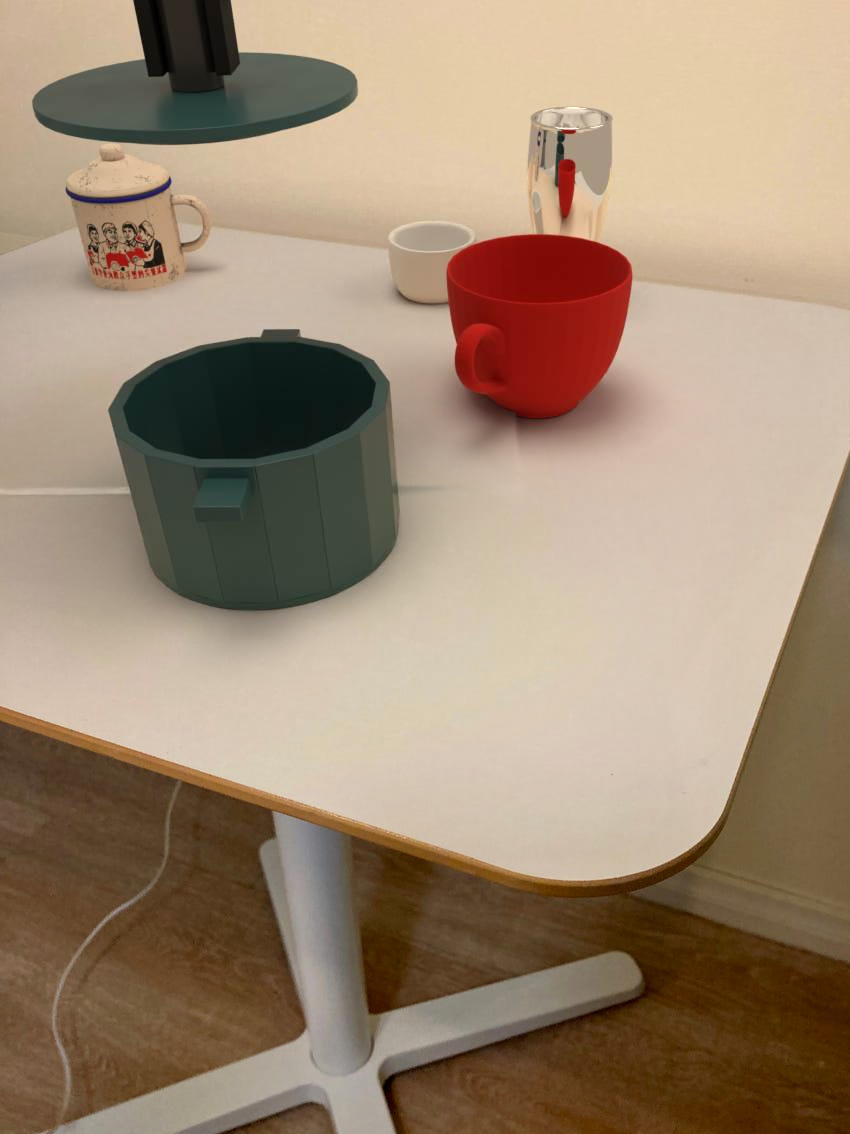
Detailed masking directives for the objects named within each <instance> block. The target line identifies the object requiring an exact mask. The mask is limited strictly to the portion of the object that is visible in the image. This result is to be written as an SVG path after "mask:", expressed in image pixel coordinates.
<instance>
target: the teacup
mask: <svg viewBox="0 0 850 1134" xmlns="http://www.w3.org/2000/svg"><path fill="white" fill-rule="evenodd" d="M387 237H388V238H387V252H388V253H387V254H388V260H389V266H390V273H391V275H392V280H393V282H394V284H395V286H396V288H397V290H398V291H399V292H400V293H401V295H402V296H403V297H405V298H406V299H407V300H410V301H411V302H415V303H420V304H431V305H432V304H433V305H434V304H435V305H436V304H445V303H449V301H448V292H447V279H446V271H447V266H448V263H449V261H450V260H451V259H452V257H453V256H454V255H456V254H457V253H458V252H459V251H461V250H463V249H465V248H467V247H469V246H471V245H474V244H477V243H478V242H477V235H476V234H475V231H474V230H473V229H472V228H470V227H468V226H467V225H464V224H461V223H458V222H452V221H446V220H421V221H414V222H409V223H405V224H402V225H400V226H398V227H396V228H393V230H391V231H390V232H389V234H388V236H387Z"/></svg>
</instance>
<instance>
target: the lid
mask: <svg viewBox="0 0 850 1134" xmlns="http://www.w3.org/2000/svg"><path fill="white" fill-rule="evenodd" d="M154 2H155V7H156V12H157V17H158V23H159V28H160V33H161V39H162V44H163V49H164V54H165V60H166V65H167V70H168V72H167V73H166V74H165V75H164V76H163V77H148V72H147V67H146V62H145V58H142V59H134V60H128V61H123V62H118V63H113V64H108V65H103V66H98V67H95V68H91V69H86V70H84V71H80V72H77V73H74V74H70V75H68V76H65V77H62V78H60V79H58V80H55V81H53V82H51V83H48V84H47V85H45V86H44V87H43V88H41V89H39V91H37V92H36V93H35V94H34V96H33V98H32V100H31V106H32V111H33V114H34V117H35V118H36V120H37V121H38V123H39V124H41V125H42V126H43V127H45V128H46V129H49V130H51V131H52V132H56V133H58V134H62V135H65V136H69V137H74V138H77V139H78V138H79V139H84V140H89V141H91V140H92V141H97V142H107V143H117V144H120V143H121V144H134V145H135V144H136V145H149V146H151V145H152V146H184V145H185V146H186V145H187V146H188V145H204V144H216V143H225V142H233V141H239V140H246V139H252V138H256V137H257V138H258V137H261V136H267V135H271V134H275V133H278V132H281V131H286V130H290V129H294V128H298V127H303V126H305V125H308V124H313V123H315V122H318V121H321V120H324V119H326V118H328V117H331V116H333V115H335V114H338V113H340V112H341V111H343V110H346V109H347V108H348V107H350V105H352V104H353V103H354V102H355V100H356V99H357V98H358V94H359V85H358V78H357V77H356V74H355V73H354V72H353V71H351V70H350V69H348V68H347V67H345V66H344V65H340V64H338V63H335V62H332V61H328V60H325V59H321V58H314V57H310V56H304V55H303V56H302V55H295V54H285V53H273V52H250V51H249V52H248V51H247V52H240V51H238V52H239V58H240V64H239V66H238V67H237V68H236V70H235V71H234V72H233V73H232V75H222V76H216V70H215V63H214V57H213V51H212V45H211V39H210V33H209V27H208V21H207V15H206V9H205V2H204V0H154Z"/></svg>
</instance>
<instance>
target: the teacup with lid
mask: <svg viewBox="0 0 850 1134" xmlns="http://www.w3.org/2000/svg"><path fill="white" fill-rule="evenodd" d="M98 151H99V157H97V158H95V159H93V160H92V161H90V162H89V163H88V164H87V165H86V166H85V167H83V168H80V169H78V170H75V172H73V173H72V174H70V175H69V176H68V178H67V179H66V182H65V193H66V195H67V196H68V197H69V198H70V201H71V206H72V209H73V213H74V218H75V221H76V225H77V229H78V233H79V236H80V241H81V245H82V248H83V251H84V257H85V259H86V264H87V267H88V271H89V276H90V278H91V281H92V283H93V284H94V285H95V286H97V287H99V288H101V289H103V290H109V291H115V292H116V291H117V292H135V291H143V290H151V289H155V288H159V287H162V286H165V285H168V284H171V283H173V282H175V281H177V280H178V279H180V278H181V277H182V276H184V274H185V273H186V271H187V266H186V261H185V256H184V253H185V254H186V253H192V252H195V251H197V250H200V249H201V248H202V247H203V246H204V245H205V244H206V242H207V241H208V240H209V236H210V234H211V229H212V217H211V213H210V210H209V208H208V206H207V205H206V204H205V203H204V202H203V200H201V199H199V198H198V197H196V196H194V195H190V194H183V193H182V194H172V189H171V185H172V178H171V176H170V174H169V172H168V171H167V169H166V168H165V167H163V166H162V165H160V164H157V163H153V162H150V161H144V160H141V159H140V158H138V157H136V156H133V155H130V154H125V151H124V148H123V146H122V145H121V144H120V143H116V142H110V143H105V144H102V145H101V146H100V147H99V150H98ZM180 205H181V206H184V205H185V206H189V207H192V208H194V209H195V210H196V211H197V212H198V213H199V215H200V216H201V219H202V230H201V233H200V235H199V236H198V237H197V238H196V239H194V240H191V241H186V242H182V240H181V236H180V231H179V227H178V226H179V225H178V220H177V215H176V209H175V206H180Z"/></svg>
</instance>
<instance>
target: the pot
mask: <svg viewBox="0 0 850 1134" xmlns="http://www.w3.org/2000/svg"><path fill="white" fill-rule="evenodd" d="M301 335H302V334H301V330H300V328H288V329H287V328H267V329H266V328H265V329H263V330H262V332H261V335H260V336H247V337H241V338H235V339H229V340H224V341H217V342H212V343H205V344H201V345H200V344H199V345H197V346H193V347H191V348H188V349H185V350H183V351H180V352H178V353H174V354H172V355H169V356H166V357H163V358H160V359H157V360H156V361H153V362H152V363H150V364H149V365H148V366H146V367H145V368H144V369H142V370H141V371H139V372H138V373H136V374H135V375H133V376H132V377H130V378H129V379H127V380H125V382H123V384H122V385H121V387H120V388H119V389H118V392H117V393H116V395H115V397H114V399H113V400H112V402H111V403H110V405H109V406H108V409H107V411H108V416H109V419H110V423H111V427H112V431H113V435H114V437H115V442H116V445H117V449H118V453H119V456H120V459H121V463H122V467H123V470H124V475H125V478H126V481H127V487H128V489H129V493H130V497H131V501H132V504H133V508H134V511H135V514H136V518H137V522H138V525H139V529H140V533H141V536H142V541H143V544H144V548H145V552H146V555H147V559H148V563H149V566H150V569H152V571H153V572H154V574H155V575H156V577H157V578H158V579H159V580H160V581H161V582H162V583H163V584H164V585H165V586H166V587H167V588H169V589H170V590H172V591H174V592H175V593H177V594H178V595H181V596H182V597H185V598H187V599H188V600H191V601H195V602H196V603H197V602H198V603H200V604H204V605H207V606H212V607H217V608H222V609H231V610H242V611H243V610H246V611H249V610H250V611H258V610H276V609H283V608H290V607H295V606H299V605H304V604H308V603H311V602H316V601H319V600H322V599H325V598H327V597H330V596H333V595H336V594H338V593H340V592H342V591H344V590H346V589H348V588H351V587H353V586H354V585H356V584H357V583H359V582H361V581H362V580H364V579H365V578H367V577H368V576H369V575H370V574H372V573H373V572H374V571H375V570H377V569H378V568H379V566H380V565H381V564H382V563H384V562H385V560H386V559H387V557H388V556H389V555H390V553H391V552H392V550H393V549H394V546H395V544H396V542H397V538H398V534H399V519H400V502H399V487H398V486H399V485H398V474H397V462H396V449H395V448H396V447H395V435H394V422H393V421H394V420H393V408H392V407H393V406H392V394H391V383H390V380H389V379H388V378H387V376H386V375H385V374H384V372H383V371H382V369H381V368H380V366H379V365H378V363H377V362H376V361H375V360H374V359H373V358H370V357H368V356H366V355H364V354H362V353H361V352H358V351H356V350H354V349H352V348H350V347H348V346H346V345H343V344H341V343H336V342H331V341H325V340H320V339H314V338H310V337H309V338H308V337H304V336H301Z"/></svg>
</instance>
